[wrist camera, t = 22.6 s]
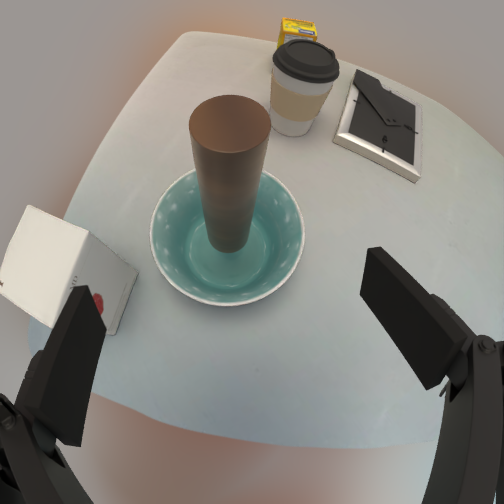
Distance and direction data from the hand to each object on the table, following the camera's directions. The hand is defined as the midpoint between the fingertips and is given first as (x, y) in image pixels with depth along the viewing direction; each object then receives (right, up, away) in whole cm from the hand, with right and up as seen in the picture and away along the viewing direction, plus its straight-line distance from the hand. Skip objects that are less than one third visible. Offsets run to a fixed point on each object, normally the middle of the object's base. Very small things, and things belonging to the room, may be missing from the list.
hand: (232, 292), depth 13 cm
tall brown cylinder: (-1, +4, +16) cm, 16 cm away
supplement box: (+8, +38, +35) cm, 52 cm away
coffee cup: (+7, +23, +31) cm, 39 cm away
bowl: (-2, +2, +24) cm, 24 cm away
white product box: (-19, -3, +21) cm, 28 cm away
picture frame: (+25, +25, +33) cm, 49 cm away
